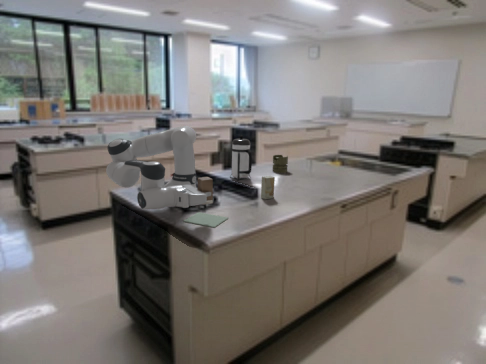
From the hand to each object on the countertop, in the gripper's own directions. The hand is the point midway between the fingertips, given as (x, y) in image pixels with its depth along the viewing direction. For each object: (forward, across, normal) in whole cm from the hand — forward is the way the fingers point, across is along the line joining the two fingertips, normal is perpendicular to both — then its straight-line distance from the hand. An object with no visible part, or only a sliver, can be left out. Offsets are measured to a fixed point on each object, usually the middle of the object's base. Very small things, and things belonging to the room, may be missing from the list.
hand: (207, 191), depth 152 cm
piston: (+93, -74, -14) cm, 120 cm away
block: (-1, 0, +6) cm, 6 cm away
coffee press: (+54, -65, -14) cm, 86 cm away
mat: (-1, -1, -14) cm, 14 cm away
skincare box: (+45, -18, -14) cm, 50 cm away
